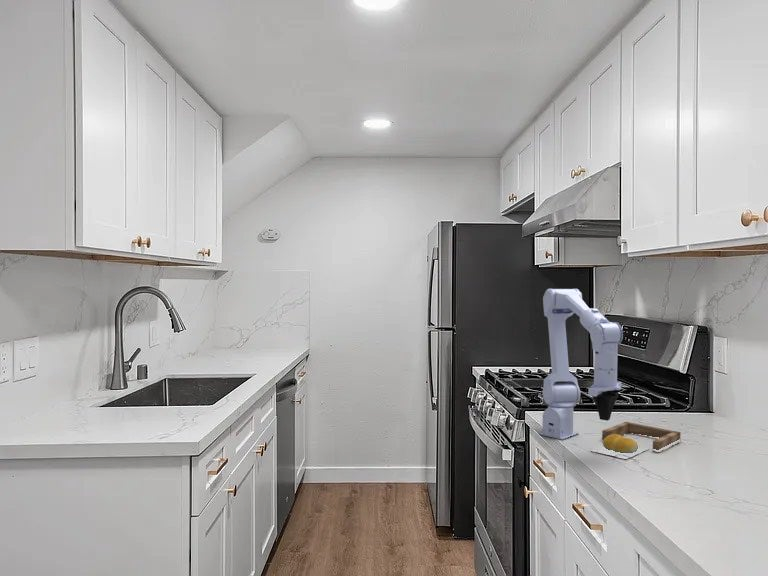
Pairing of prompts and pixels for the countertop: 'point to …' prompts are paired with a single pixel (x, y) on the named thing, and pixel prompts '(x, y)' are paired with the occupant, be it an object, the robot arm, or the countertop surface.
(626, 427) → the frame
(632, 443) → the bread roll
